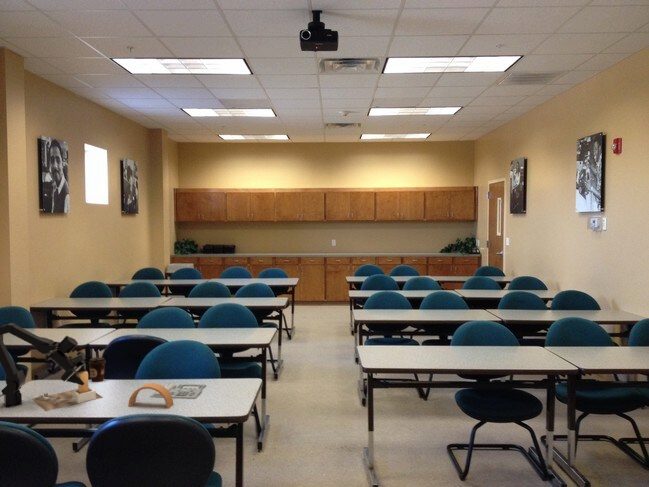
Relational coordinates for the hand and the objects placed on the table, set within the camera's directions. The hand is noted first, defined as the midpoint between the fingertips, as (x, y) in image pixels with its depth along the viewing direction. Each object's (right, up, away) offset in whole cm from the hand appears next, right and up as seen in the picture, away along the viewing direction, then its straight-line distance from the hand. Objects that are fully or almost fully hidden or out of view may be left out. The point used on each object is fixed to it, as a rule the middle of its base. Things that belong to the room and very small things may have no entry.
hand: (86, 381), depth 253 cm
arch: (+33, -10, -6) cm, 35 cm away
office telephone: (+42, -10, +14) cm, 45 cm away
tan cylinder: (-1, -8, 0) cm, 8 cm away
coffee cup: (-7, -8, +29) cm, 31 cm away
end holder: (-1, -9, 0) cm, 9 cm away
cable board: (-10, -9, +1) cm, 14 cm away
